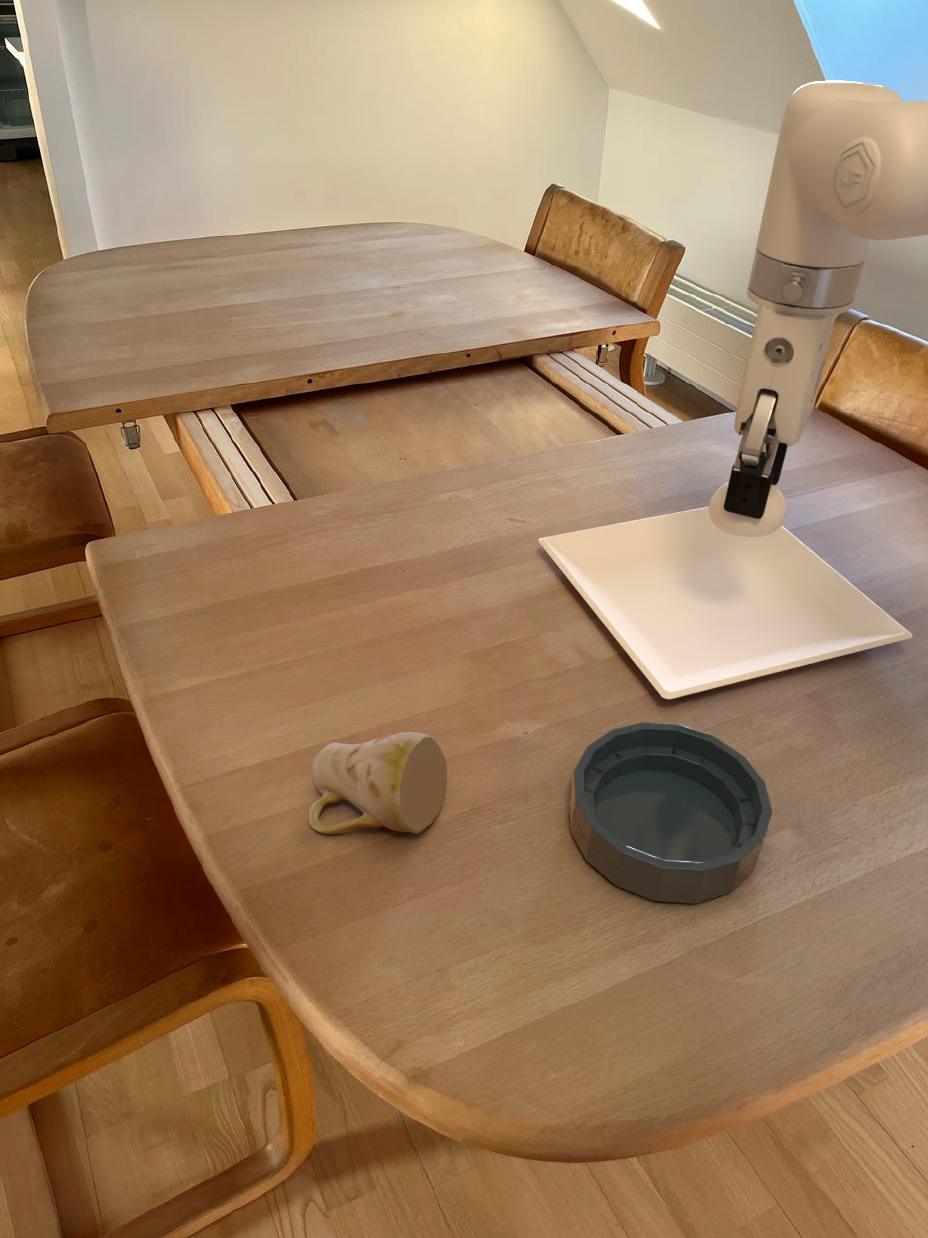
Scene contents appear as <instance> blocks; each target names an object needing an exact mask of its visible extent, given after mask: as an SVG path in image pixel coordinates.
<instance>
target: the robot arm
mask: <svg viewBox="0 0 928 1238" xmlns="http://www.w3.org/2000/svg"><path fill="white" fill-rule="evenodd" d="M923 236H928V99H927V100H914V101H913V100H911V101H903V98H902V97H901V96H900V94H899V93H898V92H897V91H895V90H893V89H892V88H889V87H886V86H882V85H877V84H873V83H869V82H867V83H866V82H860V81H859V82H858V81H848V80H847V81H845V80H825V81H824V80H823V81H813V82H809V83H807V84H804V85H801V86H800V87H798V88H797V89H796V90H794V92H793V93H792V94H791V95H790V97H789V99H788V101H787V103H786V105H785V107H784V111H783V115H782V120H781V125H780V129H779V134H778V138H777V143H776V149H775V154H774V158H773V163H772V167H771V173H770V178H769V182H768V188H767V193H766V197H765V202H764V207H763V211H762V216H761V221H760V227H759V232H758V236H757V241H756V245H755V246H756V247H755V251H754V255H753V261H752V266H751V269H750V270H751V271H750V275H749V279H748V285H747V289H746V295H747V297H748V299H749V300H750V301H752V302H753V303H754V304H756V305H758V310H757V315H756V319H755V322H754V323H755V324H754V327H753V331H752V334H751V340H750V345H749V348H748V354H747V358H746V362H745V367H744V372H743V377H742V380H741V386H740V389H739V390H740V391H739V395H738V401H737V407H736V412H735V416H734V424H733V430H735V433H736V434H737V435H738V436H741V438H740V442H739V446H738V449H737V455H736V457H735V461H734V464H733V465H732V468H731V471H730V475H729V480H728V481H729V484H728V489H727V493H726V498H725V502H724V510H725V511H727V512H731V513H735V514H739V515H743V516H747V517H751V518H755V519H760V518H762V517H763V514H764V511H765V508H766V504H767V500H768V496H769V492H770V488H771V484H772V485H773V486H776V485H778V483H779V481H780V478H781V474H782V470H783V467H784V462H785V459H786V455H787V451H788V448H789V447H793V446H794V445H796V444H797V443H799V441H800V439H801V437H802V435H803V433H804V431H805V429H806V426H807V424H808V422H809V419H810V417H811V415H812V413H813V410H814V407H815V404H816V400H817V395H818V391H819V387H820V382H821V379H822V374H823V372H824V371H823V370H824V366H825V363H826V358H827V355H828V352H829V347H830V343H831V339H832V335H833V330H834V325H835V322H836V321H835V320H836V316H837V315H841V314H844V313H847V312H848V311H850V310H851V309H852V307H853V304H854V301H855V297H856V293H857V290H858V287H859V282H860V279H861V275H862V272H863V268H864V265H865V261H866V258H867V254H868V251H869V247H870V244H871V240H873V241H891V240H892V241H893V240H900V239H908V238H915V237H923ZM764 444H766V452H762V450H763V445H764Z"/></svg>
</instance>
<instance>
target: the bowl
mask: <svg viewBox="0 0 928 1238" xmlns="http://www.w3.org/2000/svg"><path fill="white" fill-rule="evenodd" d="M772 815H773V809H772V805H771V801H770V796H769V793H768V789H767V786H766V782H765V780H763V777H761V776H760V774H759V772H757V770H756V769H755V768H754V767H753V766H752V764H751V763H750V762H749V760H748V759H747V758H746V756H744V755H743V754H741V752H739V751H738V750H736V749H734V748H733V747H731V746H729V745H728V744H727V743H726V742H723V741H722V740H721V739H719V738H717V737H716V736H715V735H713V734H709V733H706V732H703V731H701V730H696V729H693V728H691V727H688V726H684V725H681V724H679V723H663V722H662V723H661V722H660V723H659V722H644V721H643V722H638V723H634V724H631V725H626V726H623V727H618V728H613V729H611V730H609V731H608V732H606V733H605V734H603V735H601V736H600V737H599V738H597V739H596V740H595V741H593V742H592V743H590V744H588V745H587V746H586V747H585V750H584V751H583V753H582V755H581V757H580V759H579V761H578V763H577V764H576V765H575V768H574V770H573V775H572V780H571V790H570V797H569V825H570V829H569V830H570V833H571V835H572V837H573V839H574V841H575V843H576V844H577V846H578V848H579V850H580V852H581V854H582V855H583V857H584V860H585V861H586V862H587V863H588V864H590V865H591V866H592V867H593V868H594V869H596V870H597V871H598V872H599V873H600V874H602V875H603V876H604V877H605V878H606V879H607V880H608V881H610V882H611V883H612V884H614V886H616V887H618V888H621V889H624V890H625V891H629V892H630V893H633V894H636V895H639V896H641V897H643V898H646V899H648V900H651V901H654V902H662V903H663V902H665V903H666V902H667V903H679V904H680V903H681V904H699V903H702V902H704V901H708V900H712V899H715V898H717V897H721V896H725V895H728V894H730V893H732V892H733V891H734V890H735V889H736V888H738V887H739V886H740V885H742V883H743V882H744V881H745V880H746V879H747V878H748V877H750V875H752V874H753V873H754V871H755V868H756V866H757V863H758V860H759V857H760V854H761V851H762V848H763V845H764V842H765V838H766V835H767V832H768V829H769V824H770V823H771V822H770V821H771V819H772Z"/></svg>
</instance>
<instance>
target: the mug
mask: <svg viewBox="0 0 928 1238" xmlns="http://www.w3.org/2000/svg"><path fill="white" fill-rule="evenodd" d="M447 776H448V762H447V758H446V756H445V754H444V751H443V749H442V747H441V745H440V743H439V742H438V740H437V739H436V738H435V737H433V736H431V735H429V734H426V733H422V732H420V731H419V732H418V731H407V730H406V731H399V732H395V733H394V732H393V733H391V734H387V735H384V736H382V737H378V738H376V739H373V740H370V741H366V742H362V743H358V744H357V743H356V744H355V743H354V744H352V743H341V742H340V743H339V742H332V743H330V744H328V745H326V746H325V747H323V748H322V749H321V750H320V751H319V752H318V753H317V755H316V756H315V758H314V760H313V762H312V765H311V777H312V781H313V783H314V785H315V787H316V789H317V790H318V792H319V793H320V794H321V795H322V796H321V797H319V798H318V799H317V800H315V801H314V802H313V803H312V804H311V806H310V808H309V810H308V824H309V826H310V827H311V829H312V830H314V831H315V832H317V833H320V834H324V835H338V834H342V833H347V832H350V831H354V830H359V829H371V828H373V829H377V828H380V827H385V828H387V829H388V830H391V831H395V832H402V833H411V834H420V833H421V832H423V831H424V830H425V829H426V828H427V827H429V826H431V825H432V824H433V823H434V821H435V820H436V818H437V817H438V815H439V814H440V811H441V809H442V808H441V807H442V805H443V802H444V799H445V794H446V789H447ZM341 801H347V802H349V803H350V804H352V805H353V806H354V807H355V808H357V809H358V810H359V811H360V812H362V815H361V816H358V817H356V818H352V819H350V820H347V821H343V822H340V823H335V824H325V823H323V822H321V820H320V816H321V813H322V810H323V809H324V808H325V806H326V805H328V804H333V803H338V802H341Z"/></svg>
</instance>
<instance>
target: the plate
mask: <svg viewBox="0 0 928 1238" xmlns="http://www.w3.org/2000/svg"><path fill="white" fill-rule="evenodd" d="M537 541H538V543H539V544H540V546H541V547H542V548H543V549H544V550H545V552H546V553H547V554H548V556H549V557H550V558H551V559H552V561H553V562H554V563H555V564H556V565H557V567H558V568H559V569H560V570H561V572H562V573H563V574H564V575H565V577H566V578H567V579H568V581H569V582H570V583H571V584H572V586H573V587H574V588H575V590H576V591H577V592H578V593H579V594H580V597H582V598H583V600H584V601H585V602H586V603H587V605H588V606H589V607H590V608H591V610H592V611H593V612H594V613H595V615H596V616H597V617H598V619H599V620H600V621H601V622H602V624H604V626H605V627H606V629H608V631H609V632H610V633H611V635H612V636H613V638H614V639H615V640H616V641H617V643H618V644H619V645H620V646H621V647H622V649H623V650H624V651H625V652H626V654H627V655H628V656H629V657H630V659H631V660H632V661H633V662H634V664H635V665H636V666H637V668H638V669H639V670H640V672H641V673H642V674H643V675H644V676H645V678H646V679H647V681H649V683H650V684H651V685H652V686H653V688H654V689H655V690H656V691H657V693H658V694H659V695H660V696H661V698H663V699H666V700H668V701H669V700H674V699H678V698H681V697H685V696H689V695H694V694H698V693H701V692H705V691H709V690H713V689H717V688H721V687H725V686H729V685H732V684H733V685H734V684H737V683H740V682H741V683H742V682H744V681H748V680H749V681H750V680H752V679H753V680H754V679H756V678H760V677H764V676H768V675H772V674H776V673H780V672H784V671H788V670H792V669H797V668H799V667H804V666H808V665H811V664H812V665H813V664H815V663H820V662H823V661H824V662H825V661H827V660H831V659H836V658H839V657H843V656H848V655H851V654H854V653H855V654H856V653H858V652H863V651H866V650H870V649H875V648H878V647H883V646H887V645H891V644H895V643H899V642H902V641H906V640H909V639H912V638H913V633H911V632H910V631H909V630H908V629H907V628H906V627H904V626H903V625H902V624H900V623H899V621H897V620H895V619H894V617H892V616H891V615H890V614H889V613H887V612H886V611H885V610H884V609H883V608H881V607H880V606H879V605H878V604H877V603H875V601H873V600H872V599H871V598H870V597H868V596H867V595H866V594H864V593H863V592H862V591H861V590H860V589H858V587H856V585H853V583H852V582H850V581H849V580H848V579H847V578H845V576H843V575H842V574H841V573H839V572H838V571H837V570H836V569H835V568H833V567H832V566H831V565H830V564H829V563H827V562H826V561H825V560H824V559H823V558H821V556H819V555H818V554H817V553H815V551H813V550H812V549H811V548H809V546H807V545H806V544H804V542H802V541H801V540H800V539H799V538H797V536H795V535H794V534H793V533H791V532H790V531H789V530H788V529H786V528H785V527H784V526H783V524H782V525H781V527H780V528H779V529H778V530H776V531H775V532H773V533H771V534H769V535H765V536H761V537H743V536H736V535H732V534H729V533H726V532H724V531H722V530H720V529H718V528H717V527H716V526H715V525H714V524H713V523H712V521H711V519H710V515H709V506H704V507H699V508H694V509H689V510H683V511H678V512H677V511H676V512H673V513H667V514H661V515H657V516H651V517H645V518H640V519H635V520H630V521H624V522H618V523H614V524H609V525H603V526H598V527H597V526H596V527H592V528H587V529H582V530H576V531H571V532H566V533H560V534H555V535H549V536H544V537H540V538H538V540H537Z"/></svg>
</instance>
